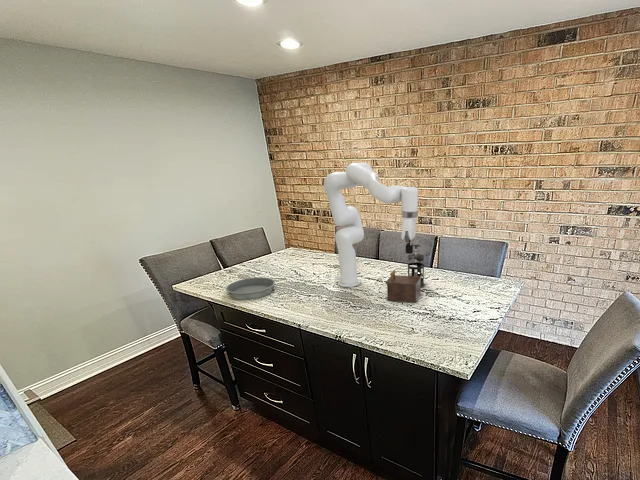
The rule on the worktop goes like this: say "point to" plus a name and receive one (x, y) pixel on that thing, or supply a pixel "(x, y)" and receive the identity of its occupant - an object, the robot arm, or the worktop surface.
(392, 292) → the caddy
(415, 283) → the lid
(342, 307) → the worktop surface
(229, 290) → the cake pan
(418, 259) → the french press
